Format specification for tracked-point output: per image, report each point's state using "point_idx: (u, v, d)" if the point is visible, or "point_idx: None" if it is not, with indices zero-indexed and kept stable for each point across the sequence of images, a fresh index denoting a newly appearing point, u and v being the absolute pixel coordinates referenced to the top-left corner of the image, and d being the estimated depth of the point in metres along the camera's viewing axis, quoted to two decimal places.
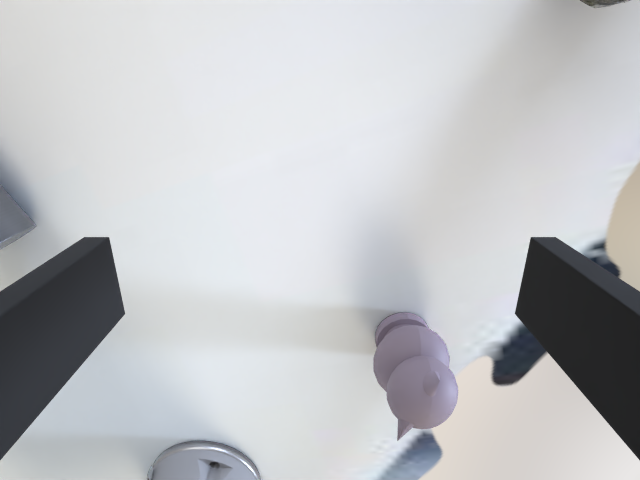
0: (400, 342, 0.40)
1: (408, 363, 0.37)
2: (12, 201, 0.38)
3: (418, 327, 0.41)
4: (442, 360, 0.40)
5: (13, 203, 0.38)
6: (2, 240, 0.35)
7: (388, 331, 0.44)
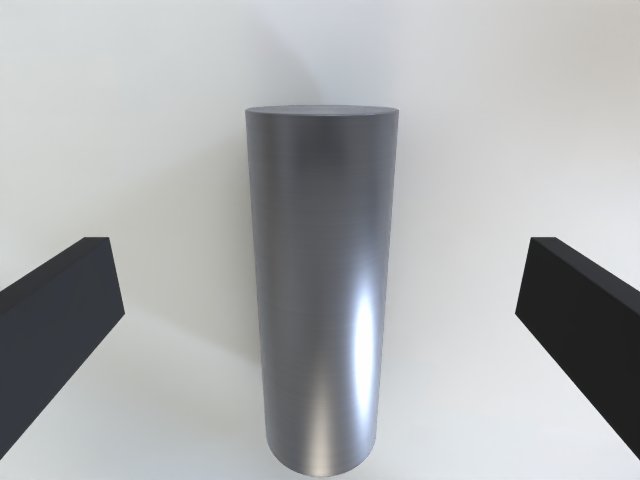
0: None
1: None
2: None
3: None
4: None
5: None
6: (371, 448, 0.30)
7: None
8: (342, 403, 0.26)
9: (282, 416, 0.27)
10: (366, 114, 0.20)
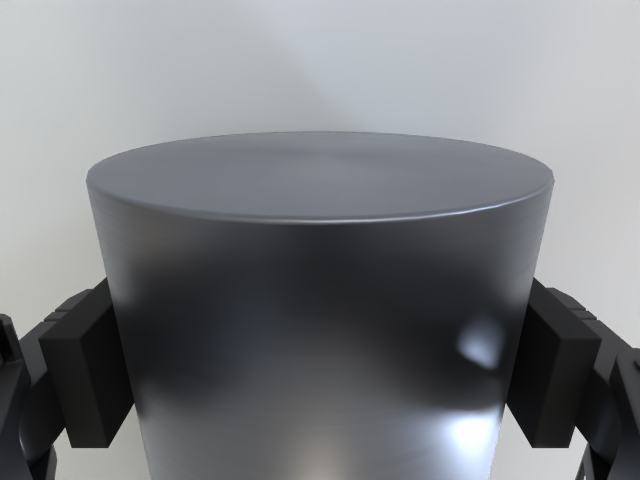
0: None
1: None
2: None
3: None
4: None
5: None
6: None
7: None
8: None
9: None
10: (495, 207, 0.05)
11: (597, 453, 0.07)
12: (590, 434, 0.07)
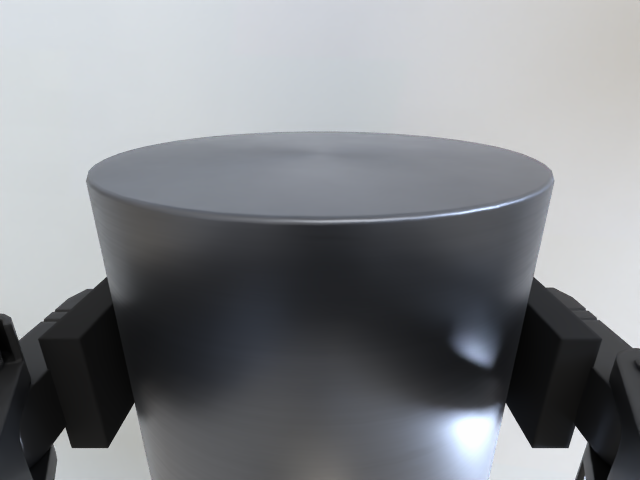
0: None
1: None
2: None
3: None
4: None
5: None
6: None
7: None
8: None
9: None
10: (495, 207, 0.05)
11: (597, 453, 0.07)
12: (590, 434, 0.07)
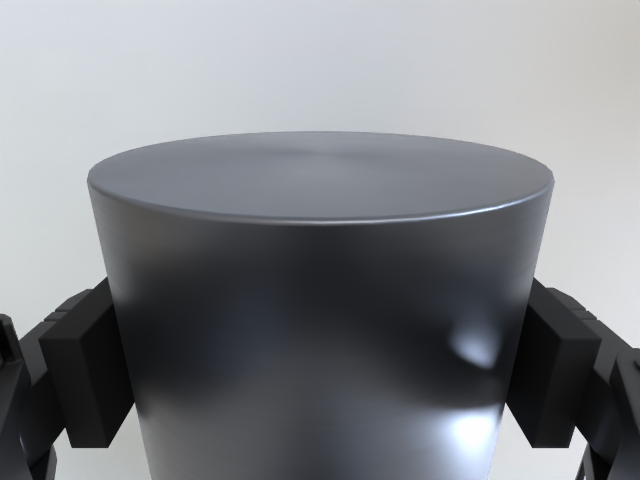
0: None
1: None
2: None
3: None
4: None
5: None
6: None
7: None
8: None
9: None
10: (496, 208, 0.05)
11: (597, 453, 0.07)
12: (590, 434, 0.07)
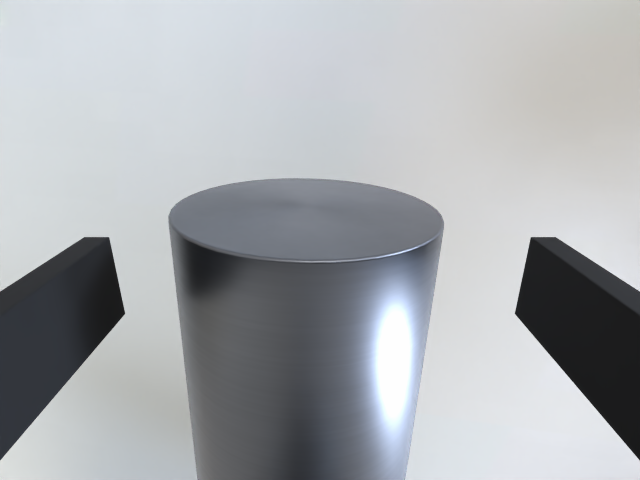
0: None
1: None
2: None
3: None
4: None
5: None
6: None
7: None
8: None
9: None
10: (395, 254, 0.10)
11: None
12: None
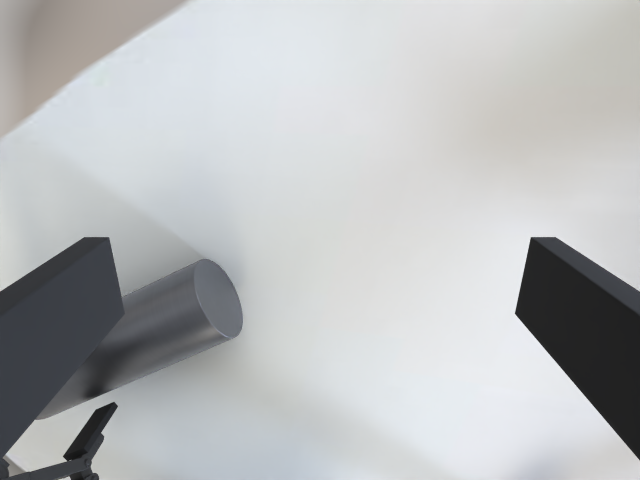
0: None
1: None
2: None
3: None
4: None
5: None
6: None
7: None
8: (68, 395, 0.41)
9: None
10: (222, 334, 0.39)
11: None
12: None
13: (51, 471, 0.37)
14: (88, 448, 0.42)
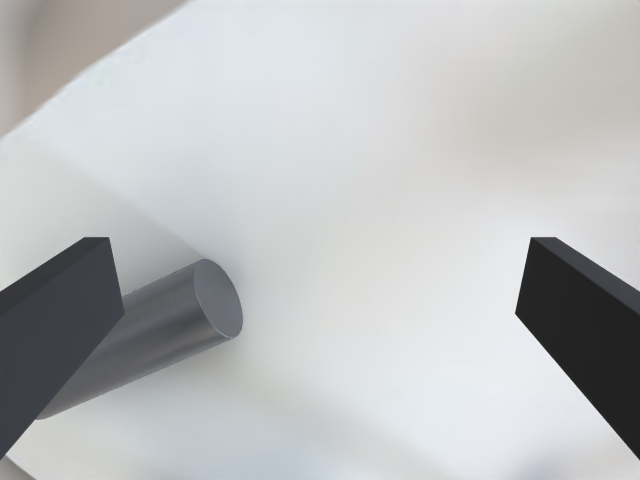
0: None
1: None
2: None
3: None
4: None
5: None
6: None
7: None
8: (68, 395, 0.41)
9: None
10: (222, 334, 0.39)
11: None
12: None
13: None
14: None
